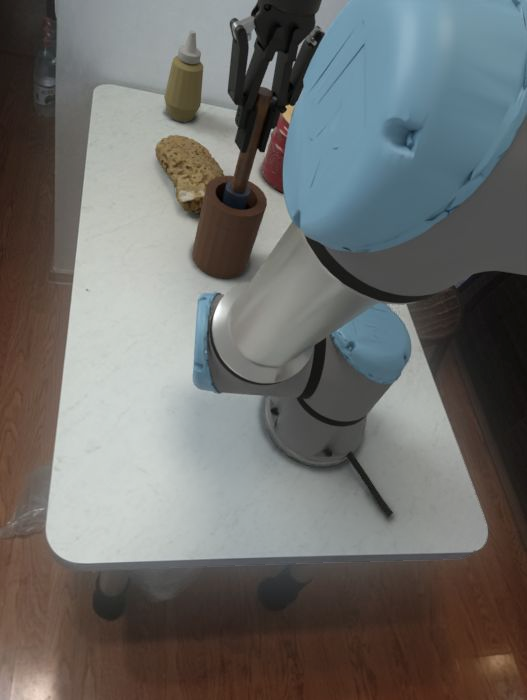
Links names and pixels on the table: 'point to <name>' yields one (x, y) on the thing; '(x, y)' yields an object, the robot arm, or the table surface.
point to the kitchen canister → (277, 151)
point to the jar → (227, 230)
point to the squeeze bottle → (185, 82)
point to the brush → (247, 156)
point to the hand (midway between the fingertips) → (249, 146)
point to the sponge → (187, 169)
